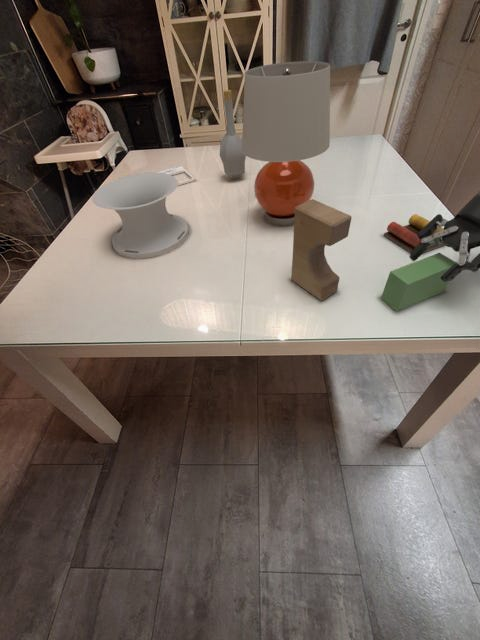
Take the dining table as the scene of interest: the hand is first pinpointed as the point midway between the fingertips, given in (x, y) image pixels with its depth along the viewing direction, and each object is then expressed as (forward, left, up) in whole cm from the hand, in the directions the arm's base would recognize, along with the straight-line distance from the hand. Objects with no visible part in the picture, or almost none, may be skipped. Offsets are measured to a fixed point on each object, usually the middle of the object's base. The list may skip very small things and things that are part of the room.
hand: (426, 269), depth 65 cm
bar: (0, +1, -7) cm, 7 cm away
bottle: (+88, +9, -7) cm, 89 cm away
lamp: (+49, +8, -7) cm, 50 cm away
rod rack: (+17, -17, -7) cm, 25 cm away
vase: (+61, +51, -7) cm, 80 cm away
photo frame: (+105, +32, -7) cm, 110 cm away
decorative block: (+14, +19, -7) cm, 25 cm away
